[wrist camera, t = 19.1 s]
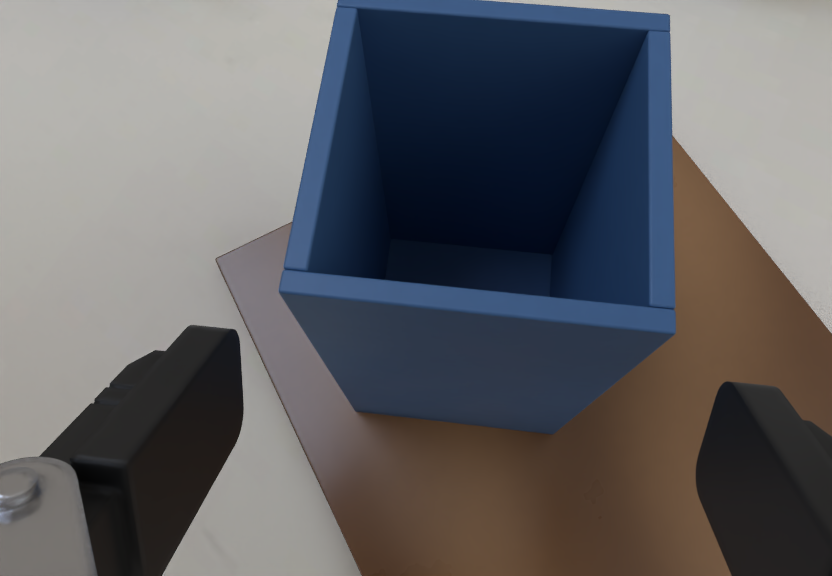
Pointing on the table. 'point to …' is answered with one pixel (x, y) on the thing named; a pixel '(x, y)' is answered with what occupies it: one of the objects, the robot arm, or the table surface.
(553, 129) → the blue bin
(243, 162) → the table surface
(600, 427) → the cork mat
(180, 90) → the table surface
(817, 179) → the table surface
